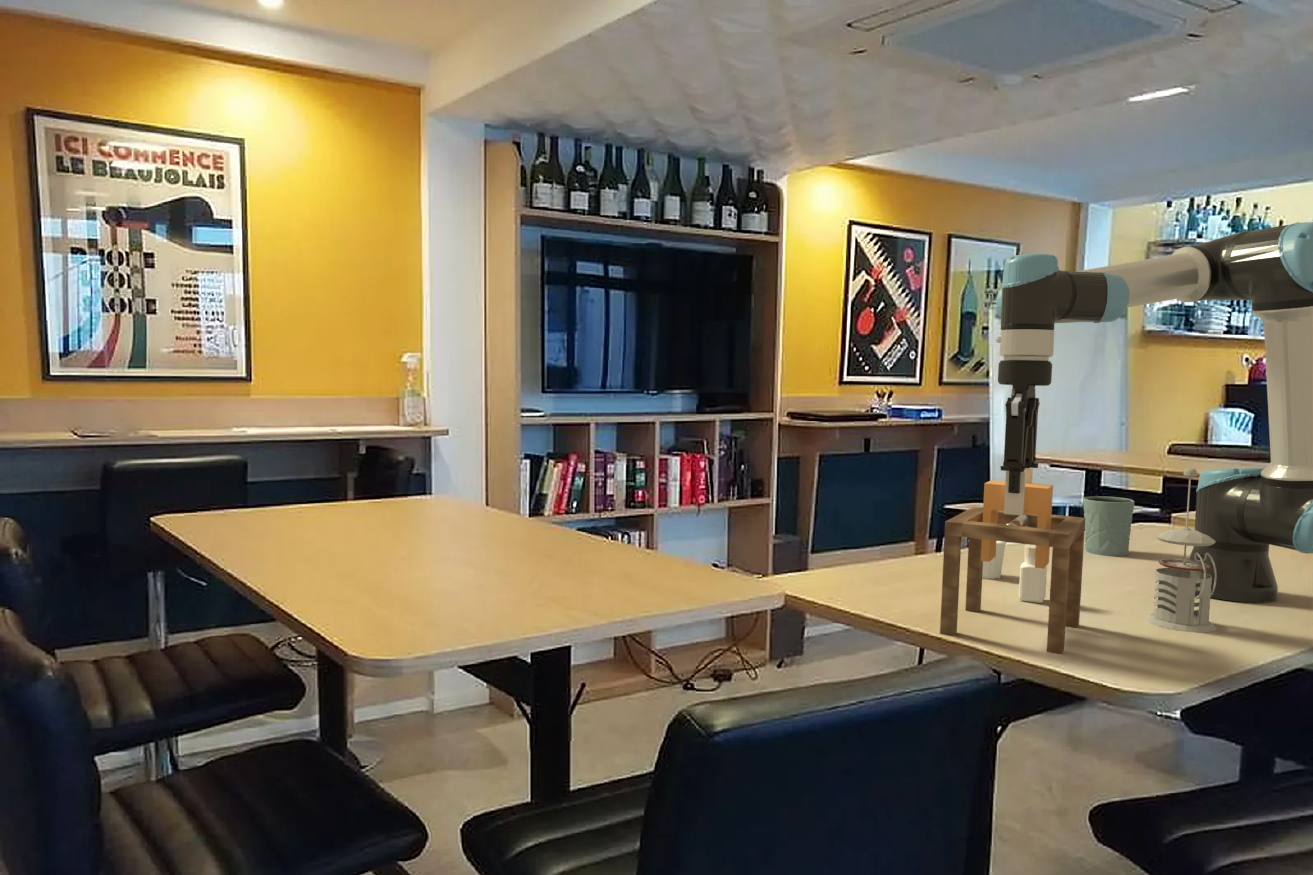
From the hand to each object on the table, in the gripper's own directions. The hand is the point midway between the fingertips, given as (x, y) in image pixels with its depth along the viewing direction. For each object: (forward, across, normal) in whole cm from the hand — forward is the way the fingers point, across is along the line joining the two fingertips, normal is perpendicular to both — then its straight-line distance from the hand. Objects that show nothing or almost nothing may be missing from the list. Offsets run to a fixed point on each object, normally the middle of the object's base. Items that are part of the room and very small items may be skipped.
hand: (1017, 511), depth 140 cm
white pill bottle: (+18, -21, 0) cm, 28 cm away
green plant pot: (+19, -77, +6) cm, 79 cm away
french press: (+18, -19, +22) cm, 35 cm away
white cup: (+18, -36, -12) cm, 42 cm away
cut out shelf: (+18, 0, 0) cm, 18 cm away
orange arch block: (+8, 0, 0) cm, 8 cm away
